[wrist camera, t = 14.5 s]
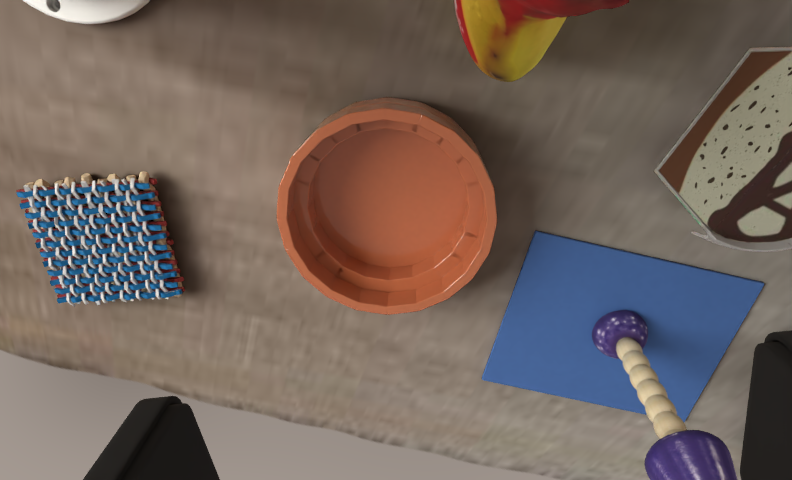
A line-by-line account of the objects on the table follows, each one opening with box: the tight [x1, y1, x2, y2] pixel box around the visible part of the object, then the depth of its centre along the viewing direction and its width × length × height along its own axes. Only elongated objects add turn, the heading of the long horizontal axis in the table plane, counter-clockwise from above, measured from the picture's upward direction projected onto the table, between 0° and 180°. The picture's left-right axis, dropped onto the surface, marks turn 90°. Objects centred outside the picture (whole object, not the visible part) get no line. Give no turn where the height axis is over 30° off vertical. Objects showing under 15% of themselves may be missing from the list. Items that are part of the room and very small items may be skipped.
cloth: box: [482, 231, 764, 422], centre depth 43 cm, size 18×14×1 cm
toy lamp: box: [592, 310, 738, 480], centre depth 35 cm, size 5×5×17 cm
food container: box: [654, 47, 792, 252], centre depth 32 cm, size 12×6×10 cm, turn 152°
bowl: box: [277, 97, 497, 315], centre depth 37 cm, size 14×14×4 cm
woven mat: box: [16, 171, 185, 307], centre depth 41 cm, size 10×11×2 cm
